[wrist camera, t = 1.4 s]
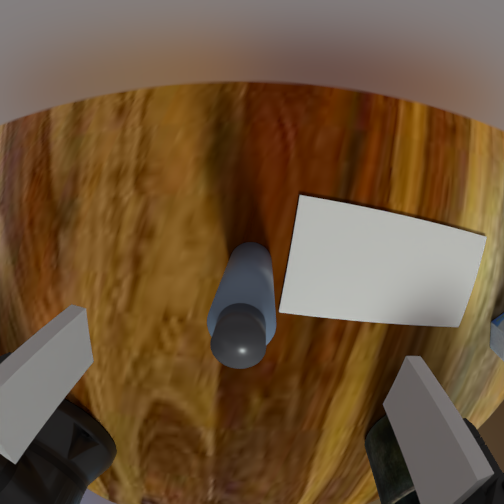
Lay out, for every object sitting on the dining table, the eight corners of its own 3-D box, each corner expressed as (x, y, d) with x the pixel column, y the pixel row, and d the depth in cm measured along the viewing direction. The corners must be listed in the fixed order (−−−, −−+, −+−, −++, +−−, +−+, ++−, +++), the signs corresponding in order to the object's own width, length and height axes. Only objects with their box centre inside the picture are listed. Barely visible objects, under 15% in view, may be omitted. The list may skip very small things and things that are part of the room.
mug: (350, 457, 31) (366, 527, 20) (384, 380, 27) (423, 464, 16) (416, 446, 31) (441, 506, 19) (458, 371, 27) (505, 434, 15)
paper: (278, 311, 25) (278, 312, 25) (299, 194, 23) (299, 195, 23) (457, 326, 25) (458, 327, 25) (485, 236, 23) (486, 236, 23)
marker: (227, 278, 25) (197, 370, 13) (232, 239, 24) (202, 306, 12) (268, 284, 25) (270, 381, 13) (274, 245, 24) (284, 318, 12)
